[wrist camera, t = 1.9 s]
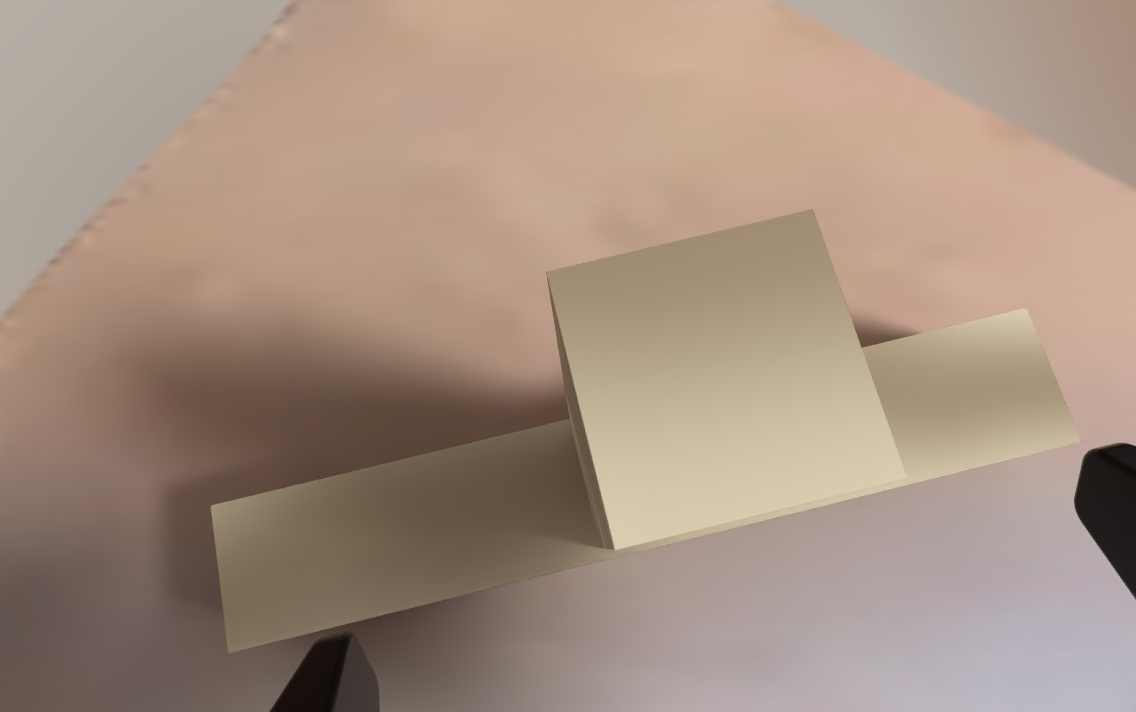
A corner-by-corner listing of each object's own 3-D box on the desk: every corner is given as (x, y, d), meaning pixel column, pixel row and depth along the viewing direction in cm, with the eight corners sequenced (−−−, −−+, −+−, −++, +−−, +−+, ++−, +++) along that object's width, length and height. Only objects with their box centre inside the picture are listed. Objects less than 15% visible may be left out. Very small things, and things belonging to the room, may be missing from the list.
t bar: (1004, 457, 19) (1784, 290, 6) (286, 636, 18) (-341, 820, 6) (960, 343, 19) (1587, 1, 7) (269, 511, 19) (-319, 448, 7)
